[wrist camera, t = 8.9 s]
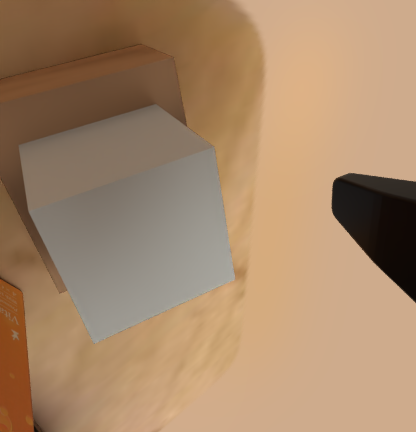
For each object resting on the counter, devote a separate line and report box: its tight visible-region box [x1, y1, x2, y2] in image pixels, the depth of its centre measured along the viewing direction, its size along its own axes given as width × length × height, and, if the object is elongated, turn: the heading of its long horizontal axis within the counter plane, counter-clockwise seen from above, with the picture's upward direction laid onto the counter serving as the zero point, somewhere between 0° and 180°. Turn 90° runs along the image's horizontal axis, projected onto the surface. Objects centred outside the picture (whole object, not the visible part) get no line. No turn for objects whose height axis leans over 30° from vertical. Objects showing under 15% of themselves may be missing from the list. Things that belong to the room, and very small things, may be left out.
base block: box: [0, 44, 187, 293], centre depth 17 cm, size 8×7×4 cm
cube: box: [18, 104, 235, 344], centre depth 13 cm, size 5×5×5 cm
